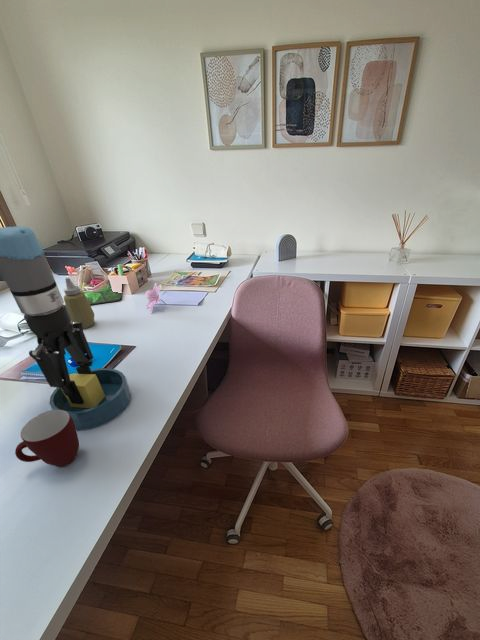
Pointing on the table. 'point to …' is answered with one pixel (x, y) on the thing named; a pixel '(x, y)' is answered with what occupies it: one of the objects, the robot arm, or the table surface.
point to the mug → (50, 439)
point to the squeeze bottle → (78, 305)
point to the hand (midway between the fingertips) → (84, 395)
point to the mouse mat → (102, 296)
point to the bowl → (106, 409)
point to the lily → (153, 297)
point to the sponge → (87, 390)
